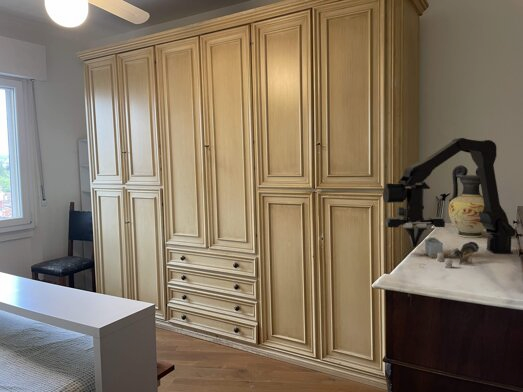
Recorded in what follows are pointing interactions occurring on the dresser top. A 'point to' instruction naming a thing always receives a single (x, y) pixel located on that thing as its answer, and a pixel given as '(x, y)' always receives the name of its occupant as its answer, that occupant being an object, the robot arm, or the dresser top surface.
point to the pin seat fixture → (447, 261)
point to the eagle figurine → (465, 251)
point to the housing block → (433, 246)
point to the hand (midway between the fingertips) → (414, 246)
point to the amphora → (466, 204)
